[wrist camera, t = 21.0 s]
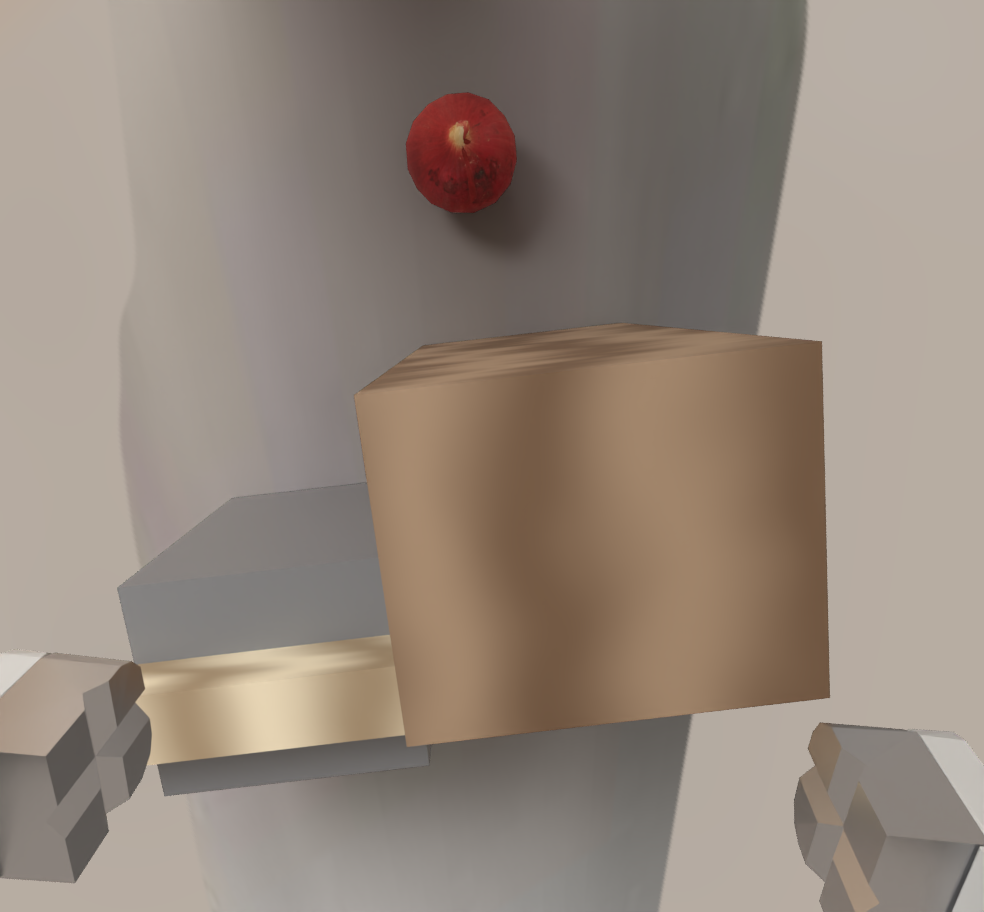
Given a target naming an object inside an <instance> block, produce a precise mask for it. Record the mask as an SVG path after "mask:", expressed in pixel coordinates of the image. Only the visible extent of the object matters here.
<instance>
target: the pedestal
mask: <svg viewBox="0 0 984 912" xmlns="http://www.w3.org/2000/svg"><path fill="white" fill-rule="evenodd" d="M354 399H355V406H356V413H357V419H358V426H359V432H360V439H361V446H362V452H363V459H364V466H365V472H366V479H367V486H368V492H369V499H370V506H371V512H372V519H373V525H374V532H375V539H376V545H377V552H378V559H379V565H380V572H381V579H382V585H383V592H384V598H385V605H386V612H387V618H388V625H389V632H390V638H391V645H392V652H393V658H394V665H395V671H396V678H397V685H398V691H399V698H400V705H401V711H402V718H403V725H404V731H405V738H406V744H407V747H411V746H420V745H428V744H437V743H445V742H454V741H463V740H471V739H480V738H488V737H497V736H506V735H514V734H523V733H531V732H540V731H549V730H557V729H566V728H575V727H583V726H592V725H600V724H609V723H618V722H626V721H635V720H643V719H652V718H661V717H669V716H678V715H686V714H695V713H703V712H712V711H721V710H729V709H738V708H746V707H755V706H763V705H773V704H781V703H790V702H798V701H807V700H816V699H824V698H830V683H829V640H828V638H829V637H828V595H827V594H828V593H827V549H826V509H825V508H826V504H825V462H824V420H823V419H824V417H823V372H822V341H812V340H801V339H789V338H779V337H769V336H758V335H747V334H736V333H725V332H714V331H704V330H693V329H682V328H671V327H660V326H649V325H639V324H628V323H615V324H606V325H598V326H589V327H580V328H571V329H563V330H554V331H545V332H537V333H528V334H519V335H511V336H502V337H493V338H484V339H476V340H467V341H458V342H450V343H441V344H432V345H424V346H422V347H420V348H419V349H417V350H416V351H415V352H413V353H412V354H411V355H409V356H408V357H406V358H405V359H404V360H402V361H401V362H399V363H398V364H397V365H395V366H394V367H392V368H391V369H390V370H388V371H387V372H386V373H384V374H383V375H381V376H380V377H379V378H377V379H376V380H374V381H373V382H372V383H370V384H369V385H367V386H366V387H365V388H363V389H362V390H360V391H359V392H358V393H356V394H355V395H354Z"/></svg>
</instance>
